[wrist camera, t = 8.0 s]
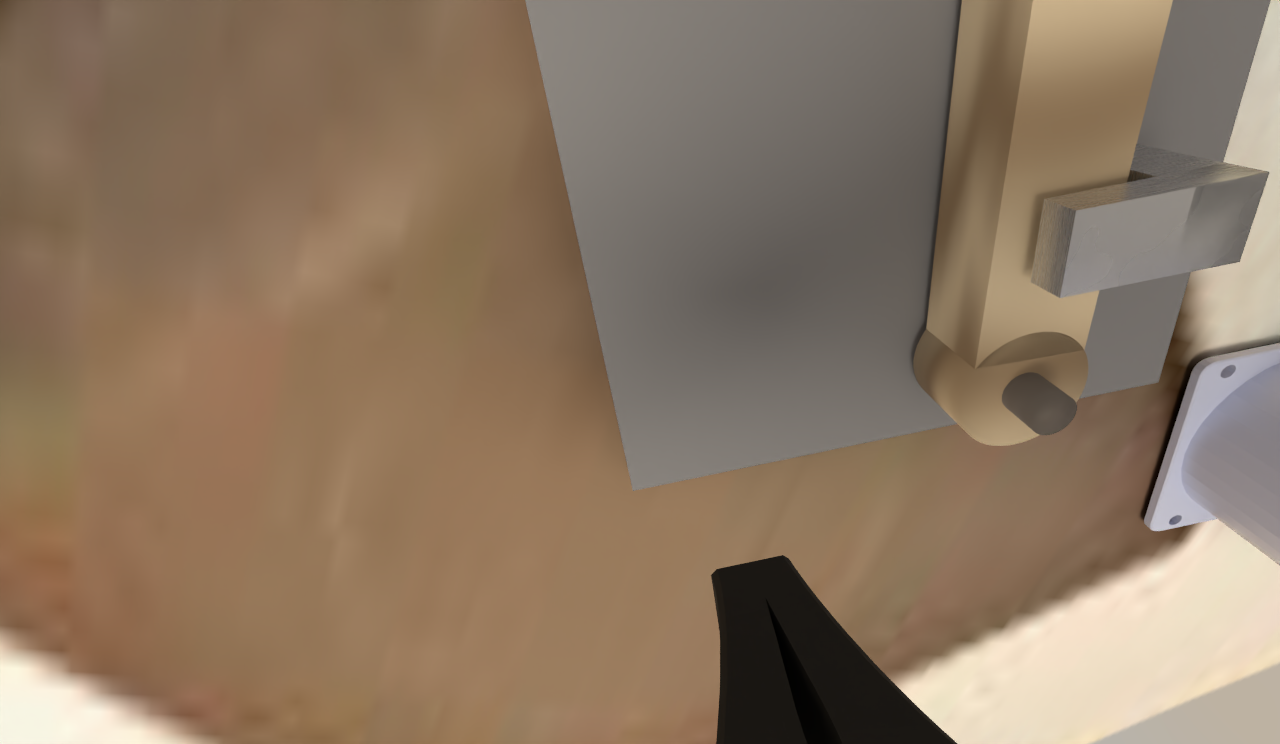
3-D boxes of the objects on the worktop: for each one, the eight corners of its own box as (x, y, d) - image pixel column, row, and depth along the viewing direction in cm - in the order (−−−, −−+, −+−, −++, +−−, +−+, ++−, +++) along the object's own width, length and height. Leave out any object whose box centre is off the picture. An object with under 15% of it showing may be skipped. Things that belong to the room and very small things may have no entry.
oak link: (1017, 389, 20) (1104, 459, 17) (908, 408, 20) (976, 482, 17) (1127, -160, 13) (1307, -217, 10) (963, -137, 13) (1093, -187, 10)
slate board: (1333, -375, 13) (1388, -402, 12) (1134, 367, 22) (1157, 382, 21) (478, -221, 13) (473, -238, 12) (629, 471, 22) (633, 490, 21)
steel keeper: (1114, 139, 17) (1268, 172, 13) (1099, 212, 18) (1239, 262, 14) (962, 169, 17) (1075, 210, 13) (956, 241, 18) (1059, 298, 14)
